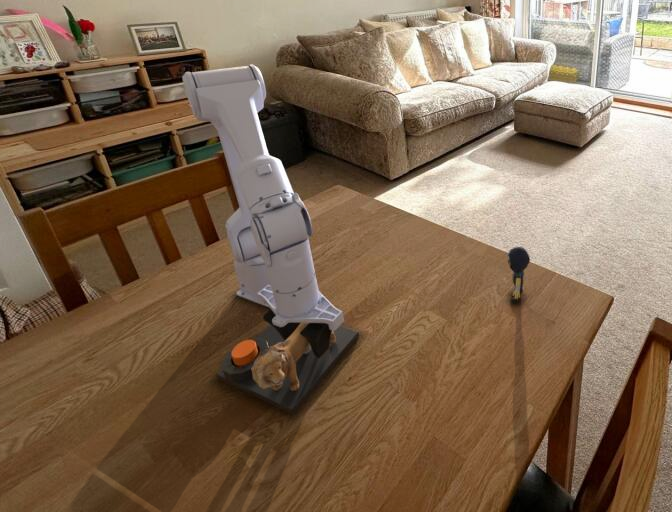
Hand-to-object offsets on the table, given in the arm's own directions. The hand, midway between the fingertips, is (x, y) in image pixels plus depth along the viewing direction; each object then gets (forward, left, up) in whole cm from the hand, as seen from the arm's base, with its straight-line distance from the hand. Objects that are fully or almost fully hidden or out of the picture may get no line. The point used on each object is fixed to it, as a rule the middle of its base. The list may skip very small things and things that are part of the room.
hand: (308, 346), depth 64 cm
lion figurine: (+1, -3, -2) cm, 3 cm away
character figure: (+27, +24, -3) cm, 36 cm away
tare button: (-8, -4, -1) cm, 9 cm away
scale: (-3, -1, -3) cm, 5 cm away
